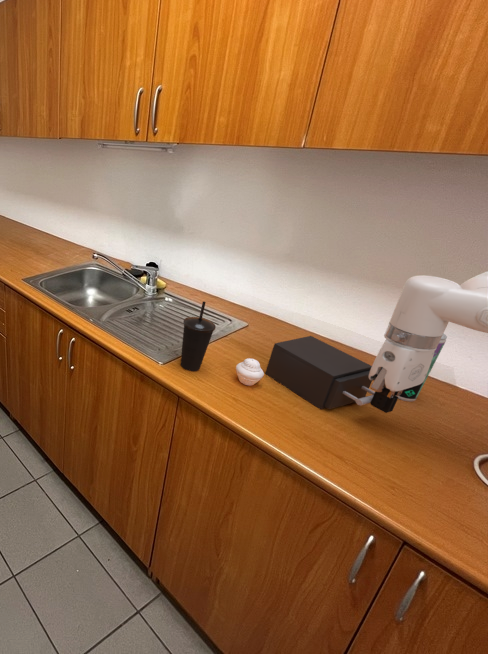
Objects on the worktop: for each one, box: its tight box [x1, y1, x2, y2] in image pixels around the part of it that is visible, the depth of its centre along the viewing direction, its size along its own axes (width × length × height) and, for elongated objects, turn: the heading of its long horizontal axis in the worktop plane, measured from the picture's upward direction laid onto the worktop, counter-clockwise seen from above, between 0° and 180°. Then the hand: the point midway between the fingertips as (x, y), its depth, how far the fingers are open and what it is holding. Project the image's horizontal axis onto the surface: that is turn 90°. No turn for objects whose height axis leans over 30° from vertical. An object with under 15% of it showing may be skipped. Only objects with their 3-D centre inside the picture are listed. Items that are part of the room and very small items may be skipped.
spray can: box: [397, 333, 448, 402], centre depth 94 cm, size 6×6×20 cm
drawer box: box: [264, 335, 372, 410], centre depth 99 cm, size 15×13×10 cm
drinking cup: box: [180, 301, 217, 372], centre depth 106 cm, size 8×8×20 cm
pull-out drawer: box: [324, 370, 375, 410], centre depth 96 cm, size 18×11×8 cm, turn 16°
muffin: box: [235, 357, 265, 387], centre depth 102 cm, size 6×6×7 cm
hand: (380, 408), depth 87 cm, fingers closed
